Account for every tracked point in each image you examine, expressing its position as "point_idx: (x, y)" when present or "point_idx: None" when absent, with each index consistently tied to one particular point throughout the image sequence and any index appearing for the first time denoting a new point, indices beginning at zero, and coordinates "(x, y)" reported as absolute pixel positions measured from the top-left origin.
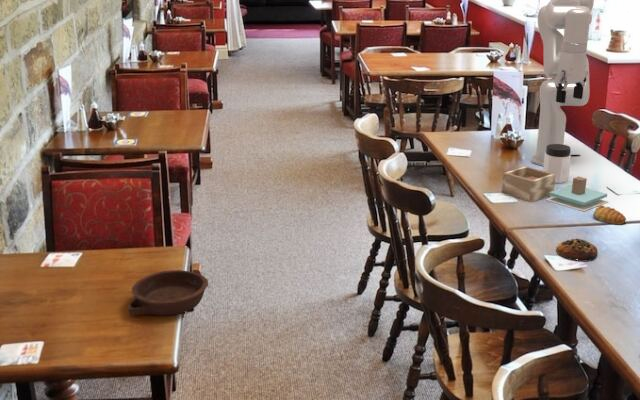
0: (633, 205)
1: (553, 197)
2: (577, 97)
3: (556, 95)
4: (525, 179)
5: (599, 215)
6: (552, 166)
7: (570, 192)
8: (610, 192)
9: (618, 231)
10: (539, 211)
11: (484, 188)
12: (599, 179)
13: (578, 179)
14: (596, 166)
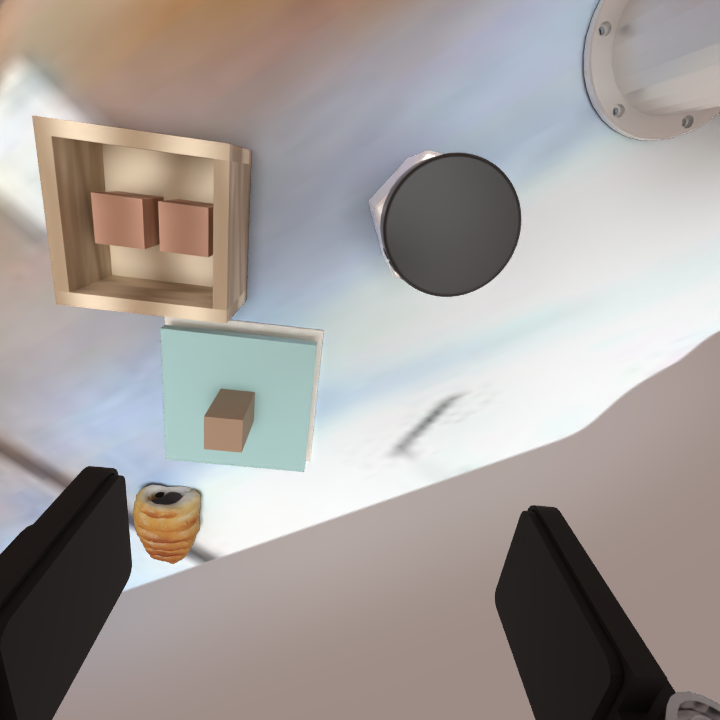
0: (336, 515)
1: (205, 321)
2: (508, 569)
3: (30, 530)
4: (51, 259)
5: (133, 513)
6: (377, 226)
7: (221, 384)
8: (408, 427)
9: None
10: (51, 350)
11: (72, 19)
12: (530, 342)
13: (206, 436)
14: (703, 259)
